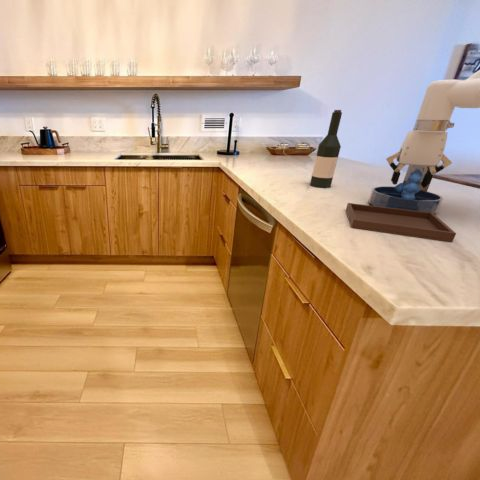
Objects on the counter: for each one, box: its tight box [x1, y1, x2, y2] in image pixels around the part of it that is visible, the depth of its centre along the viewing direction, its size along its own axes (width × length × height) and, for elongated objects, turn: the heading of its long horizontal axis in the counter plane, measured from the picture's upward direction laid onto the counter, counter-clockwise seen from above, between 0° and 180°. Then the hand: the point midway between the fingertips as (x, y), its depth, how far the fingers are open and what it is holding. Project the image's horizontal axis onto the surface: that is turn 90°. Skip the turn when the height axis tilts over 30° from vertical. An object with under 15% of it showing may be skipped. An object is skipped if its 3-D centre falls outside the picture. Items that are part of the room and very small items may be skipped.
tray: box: [345, 202, 457, 243], centre depth 82 cm, size 22×18×2 cm
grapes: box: [394, 170, 423, 200], centre depth 94 cm, size 12×7×12 cm, turn 140°
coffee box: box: [402, 165, 438, 192], centre depth 101 cm, size 9×6×16 cm
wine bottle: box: [309, 109, 343, 189], centre depth 118 cm, size 8×8×30 cm
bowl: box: [368, 185, 444, 215], centre depth 96 cm, size 18×18×5 cm
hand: (408, 184), depth 93 cm, fingers open, 7 cm apart
